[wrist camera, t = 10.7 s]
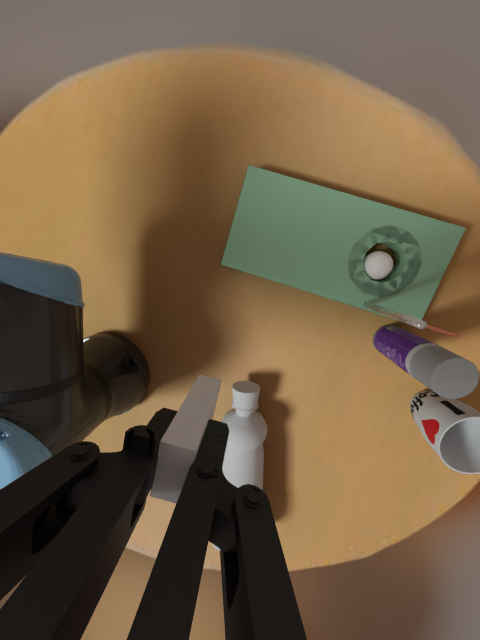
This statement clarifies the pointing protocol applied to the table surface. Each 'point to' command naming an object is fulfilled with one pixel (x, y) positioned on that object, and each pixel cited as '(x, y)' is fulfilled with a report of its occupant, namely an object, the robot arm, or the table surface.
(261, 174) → the green
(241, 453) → the bottle
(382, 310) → the flag pin
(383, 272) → the ball
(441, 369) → the container
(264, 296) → the table surface
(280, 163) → the table surface
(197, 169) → the table surface
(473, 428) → the cup
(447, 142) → the table surface
